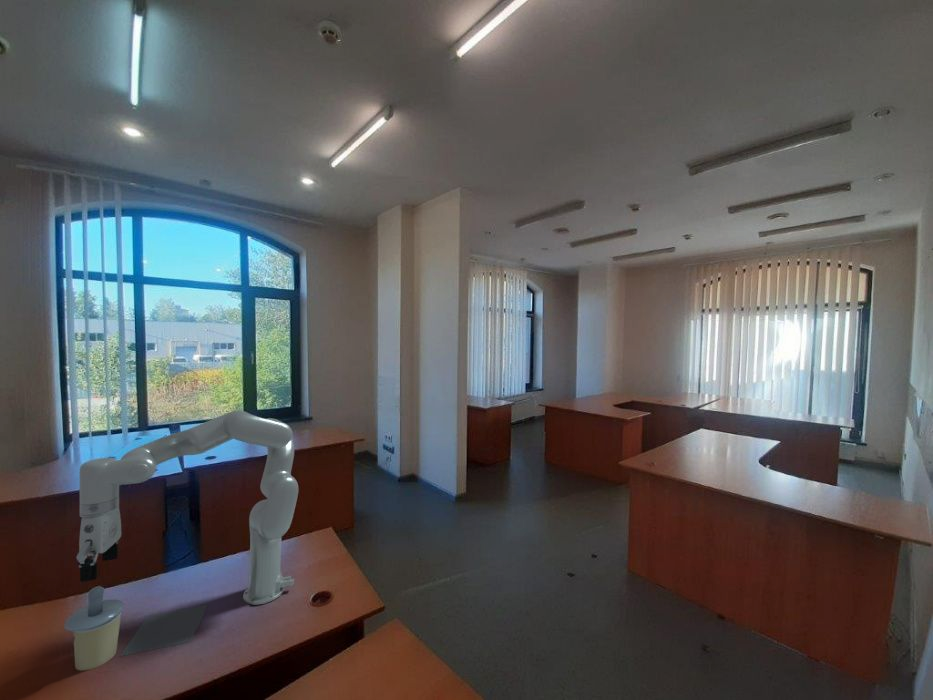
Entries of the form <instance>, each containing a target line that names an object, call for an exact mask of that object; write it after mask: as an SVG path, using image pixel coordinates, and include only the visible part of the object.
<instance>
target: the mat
mask: <svg viewBox="0 0 933 700" xmlns="http://www.w3.org/2000/svg"><path fill="white" fill-rule="evenodd" d="M208 607H209V604H207V605H202V606H195V607H190V608H184V609H180V610H174V611H168V612H167V611H166V612H163V613H157V614H151V615H147V616H146V617H145V619H144V620H143V622H142V623H141V625H140V626H139V628H138V629H137V630H136V632H135V634H134V635H133V636H132V638H131V639H130V641H129V642H128V643H127V645H126V647H125V648H124V650H123V651H122V652H121V654H120V655H119V657H123V656H128V655H132V654H138V653H142V652H147V651H151V650H152V651H153V650H157V649H161V648H167V647H171V646H176V645H182V644H186V643H191V642H192V640H193V638H194V636H195V634H196V632H197V630H198V627H199V626H200V623H201V621H202V619H203V618H204V615H205V612H206V611H207V609H208Z"/></svg>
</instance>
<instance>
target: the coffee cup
mask: <svg viewBox="0 0 933 700" xmlns="http://www.w3.org/2000/svg"><path fill="white" fill-rule="evenodd" d="M122 612H123V610H122V611H121V612H120V613H119V614H118V615H117V616H116V617H114V618H113V619H111V620H110V621H108V622H106V623H104V624H102V625H99V626H97V627H94V628H91V629H88V630H83V631H72V632H73V633H72V634H73V635H72V636H73V653H74V666H75V670H77V671H89V670H92V669H95V668H97V667H100V666H102V665H103V664H105V663H107V662H109V660H111V659H112V658H113V657H115V655H116V653H117V649H118V643H119V633H120V624H121V617H122Z"/></svg>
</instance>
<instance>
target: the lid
mask: <svg viewBox="0 0 933 700" xmlns="http://www.w3.org/2000/svg"><path fill="white" fill-rule="evenodd" d="M104 594H105V588H104V587H103V586H101V585H99V586H95V587H93V588H91V590H89V591H88V593H87V600H88V603H87V605H86V606H84V607H82V608H80V609H78V610H76V611H75V612H73V613H72V614H70V615H69V617H67V619H66V620H65V622H64V628H65V630H66V631H69V632H73V631H83V630H88V629H91V628H94V627H97V626H99V625H102V624H104V623H106V622H108V621H110V620H111V619H113V618H114V617H116V616H117V615H118V614H119V613H120V612H121V611H122V612H123V609H124V602H123V601H122V600H121V599H114V598H113V599H111V598H110V599H105V600H104Z"/></svg>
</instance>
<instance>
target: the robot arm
mask: <svg viewBox="0 0 933 700" xmlns="http://www.w3.org/2000/svg"><path fill="white" fill-rule="evenodd" d="M231 440H235V441H238V442H242V443H246V444H251V445H254V446H255V445H256V446H259V447H260V446H261V447H265V448H266V449H267V456H266V461H265V462H266V463H265V466H264V470H263V474H262V477H261V482H260V485H259V486H260V491H261V493H262V494H263V496H264V497H265V498H266V499H262V500H259V501H258V502H256V504H254V505H253V507H252V508H251V510H250V513H249V518H248V525H249V526H248V527H249V535H250V536H249V539H250V540H249V541H250V542H249V543H250V545H249V547H250V548H249V569H248V570H249V572H248V573H249V574H248V576H249V577H248V587H247V588H246V589H245V590H244V592H243V595H242V599H243V601H244V602H245V603H247V604H249V605H251V606H255V605H256V606H258V605H264V604H267V603H270V602H272V601H274V600H276V599H278V597H280V596H281V595H282V594H283V592H285V587H288V586H294V583H295V578H292V576H291V575H288V576H285V577H284V576H283V572H281V564H282V563H281V561H282V537H283V536H284V535H285V534H287V532H288V530H289V529H290V527H291V525H292V521H293V518H294V514H295V509H296V506H297V501H298V495H299V484H298V481H297V480H296V478H295V477H294V476H292V474H291V473H292V468H293V463H294V458H295V443H294V440H293V430H292V428H291V426H289V424H287V423H286V422H283V421H281V420H279V419H276V418H271V417H269V418H268V417H267V418H263V417H260V416H257V415H254V414H251V413H249V412H247V411H244V410H240V409H238V410H233V411H229V412H227V413H224V414H222V415H220V416H217V417H215V418H213V419H210V420H208V421H205V422H203V423H200V424H198V425H195V426H192V427H190V428H188V429H184V430H181V431H178V432H175V433H172V434H169V435H166V436H163V437H160V438H157V439H155V440H151V441H150V442H149V441H148V442H147V443H144V444H143V445H142V444H141V445H139V446H137V447H135V448H133V449H130V451H127V452H126V453H124V455H123V456H122V457H121V458H120V459H117V458H114V457H103V458H101V457H100V458H95V459H90V460H88V461H85V462H84V463H82V464H81V465H80V467H79V517H80V518H81V521H80V529H79V530H80V531H79V543H78V547H79V551H78V553H77V555H76V560H77V564H78V568H79V570H80V571H79V573H80V576H79V577H80V578H79V579H80V580H79V581H80V583H81V582H82V583H85V582H90V581H95V580H97V578H98V577H99V575H98V573H99V572H98V571H99V569H98V568H99V567H98V562H97V559H98V556H99V554H101V558H102V561H103V562H105V561H113V560H117V559H118V557H119V541H120V539H121V537H122V519H121V513H120V512H121V511H120V486H121V485H122V486H123V485H132V484H133V485H134V484H140V483H144V482H146V481H148V480H150V479H151V478H152V477H153V476H154V475H155V473H156V470H157V466H158V465H160V464H162V463H165V462H167V461H171V460H172V459H175V458H178V457H183V456H184V457H185V456H195V455H200V454H201V455H202V454H204V453H206V452H208V451H211V450H212V449H215V448H217V447H219V446H221V445H223V444H226V443H227V442H229V441H231ZM90 556H91V557H92V558H90Z"/></svg>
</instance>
